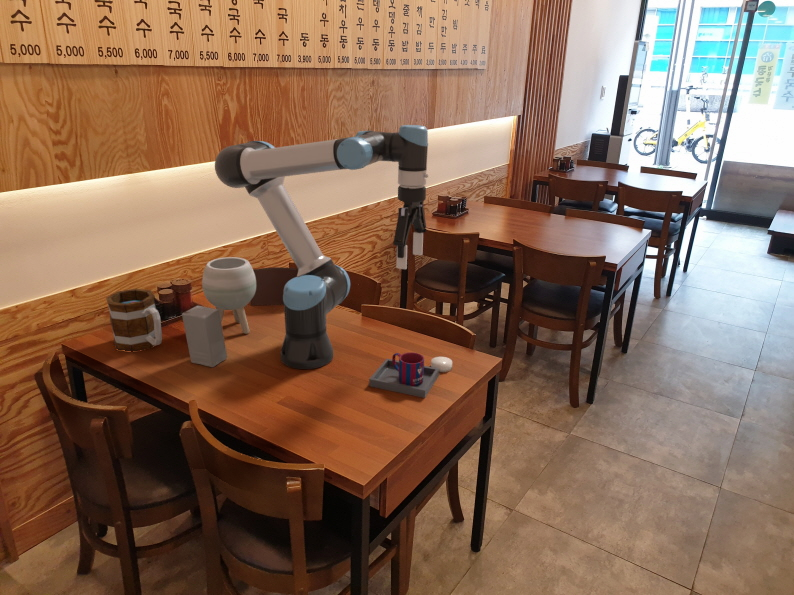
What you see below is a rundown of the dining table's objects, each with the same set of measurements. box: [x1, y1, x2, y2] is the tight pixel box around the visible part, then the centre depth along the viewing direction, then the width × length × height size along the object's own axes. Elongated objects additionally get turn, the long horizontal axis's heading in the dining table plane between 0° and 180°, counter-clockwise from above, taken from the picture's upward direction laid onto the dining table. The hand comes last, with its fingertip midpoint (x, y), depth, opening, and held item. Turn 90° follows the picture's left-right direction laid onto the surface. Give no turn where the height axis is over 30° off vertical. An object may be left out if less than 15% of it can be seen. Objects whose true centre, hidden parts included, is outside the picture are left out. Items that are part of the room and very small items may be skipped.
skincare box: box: [181, 305, 228, 368], centre depth 163 cm, size 8×7×16 cm
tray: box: [368, 358, 440, 399], centre depth 158 cm, size 16×13×2 cm
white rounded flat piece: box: [430, 356, 453, 373], centre depth 166 cm, size 6×6×2 cm
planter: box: [201, 256, 256, 335], centre depth 183 cm, size 16×16×22 cm
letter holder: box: [250, 266, 298, 307], centre depth 208 cm, size 10×20×14 cm, turn 95°
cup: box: [391, 352, 425, 386], centre depth 157 cm, size 7×10×7 cm
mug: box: [105, 288, 163, 353], centre depth 172 cm, size 20×14×15 cm
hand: (409, 261), depth 163 cm, fingers open, 13 cm apart
